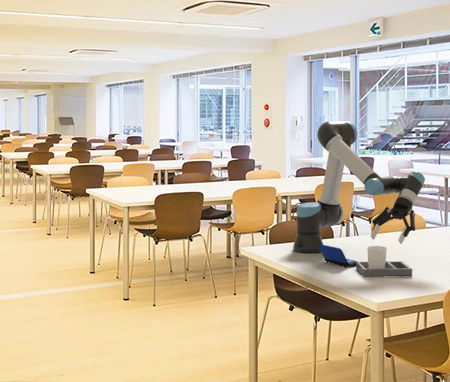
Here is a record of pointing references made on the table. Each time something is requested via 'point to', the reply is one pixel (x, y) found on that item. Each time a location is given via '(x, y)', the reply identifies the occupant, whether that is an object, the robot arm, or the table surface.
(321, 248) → the handheld game console
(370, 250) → the white cup
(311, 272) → the table surface
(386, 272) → the walled box
